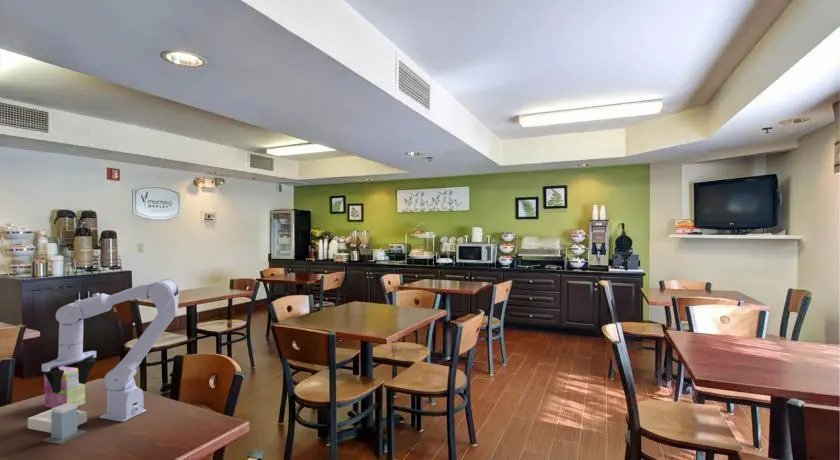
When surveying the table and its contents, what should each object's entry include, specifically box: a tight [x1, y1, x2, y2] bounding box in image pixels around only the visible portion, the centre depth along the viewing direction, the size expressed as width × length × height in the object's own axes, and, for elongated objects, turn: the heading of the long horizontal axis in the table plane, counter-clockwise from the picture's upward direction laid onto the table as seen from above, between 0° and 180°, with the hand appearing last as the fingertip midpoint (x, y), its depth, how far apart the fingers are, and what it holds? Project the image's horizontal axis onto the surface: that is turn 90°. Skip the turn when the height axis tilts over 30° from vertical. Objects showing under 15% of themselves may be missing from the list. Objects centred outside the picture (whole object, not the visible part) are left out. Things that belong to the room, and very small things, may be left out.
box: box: [43, 366, 86, 409], centre depth 139 cm, size 10×6×12 cm, turn 73°
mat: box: [42, 428, 88, 445], centre depth 119 cm, size 6×7×1 cm
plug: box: [50, 403, 78, 439], centre depth 119 cm, size 4×4×8 cm
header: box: [27, 409, 88, 433], centre depth 125 cm, size 12×8×4 cm, turn 75°
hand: (69, 387), depth 128 cm, fingers open, 7 cm apart
